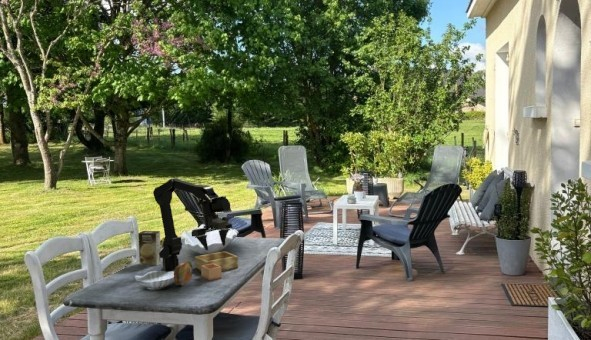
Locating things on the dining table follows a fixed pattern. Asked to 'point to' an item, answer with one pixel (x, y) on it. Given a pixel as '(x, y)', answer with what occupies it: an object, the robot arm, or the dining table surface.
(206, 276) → the terracotta crate
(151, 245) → the coffee box
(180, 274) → the tin
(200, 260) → the pine crate
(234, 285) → the dining table surface
